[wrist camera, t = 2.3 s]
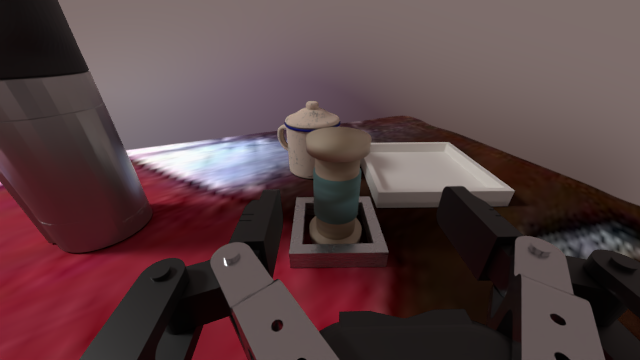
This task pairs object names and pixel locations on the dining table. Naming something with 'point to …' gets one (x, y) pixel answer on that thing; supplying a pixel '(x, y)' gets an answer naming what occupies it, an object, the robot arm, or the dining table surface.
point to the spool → (336, 183)
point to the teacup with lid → (304, 136)
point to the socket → (337, 253)
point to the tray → (426, 175)
